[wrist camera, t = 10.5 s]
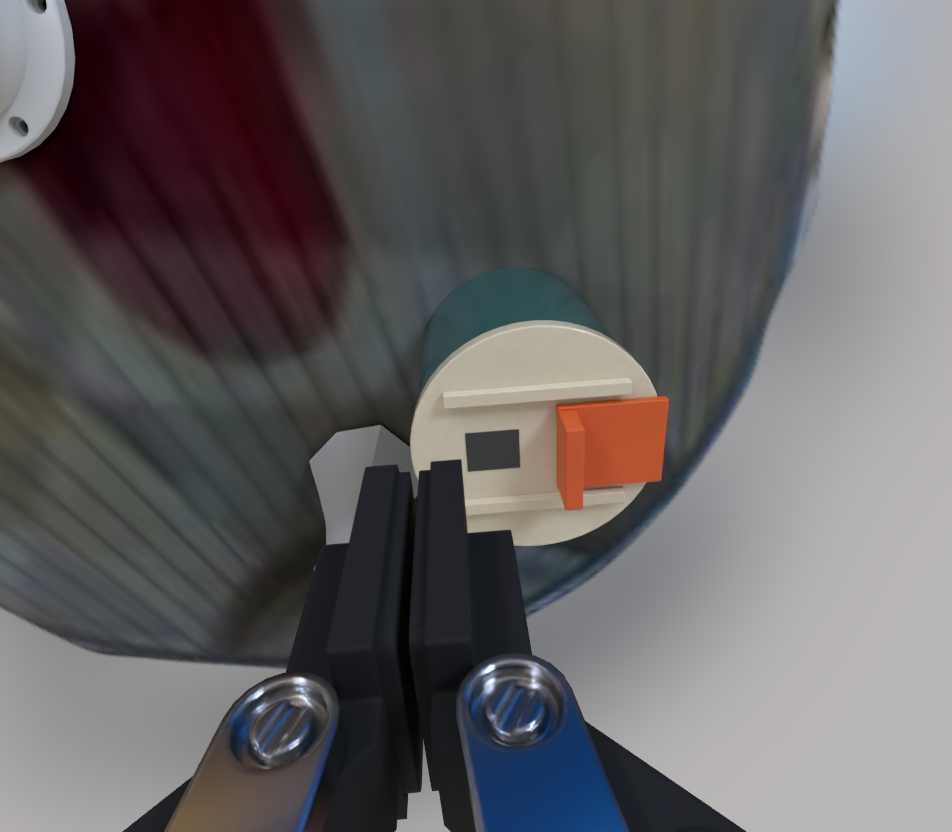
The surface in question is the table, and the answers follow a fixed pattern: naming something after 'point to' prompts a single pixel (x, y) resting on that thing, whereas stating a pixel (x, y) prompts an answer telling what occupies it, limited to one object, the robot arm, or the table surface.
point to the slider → (609, 444)
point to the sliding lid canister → (518, 400)
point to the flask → (353, 473)
